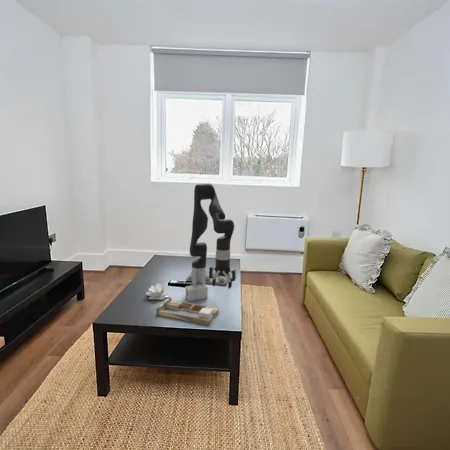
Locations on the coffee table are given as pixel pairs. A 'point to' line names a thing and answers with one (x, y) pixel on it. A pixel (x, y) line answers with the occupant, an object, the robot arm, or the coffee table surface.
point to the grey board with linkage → (219, 279)
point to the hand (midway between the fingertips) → (221, 286)
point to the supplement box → (196, 292)
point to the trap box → (184, 307)
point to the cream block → (206, 313)
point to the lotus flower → (157, 292)
